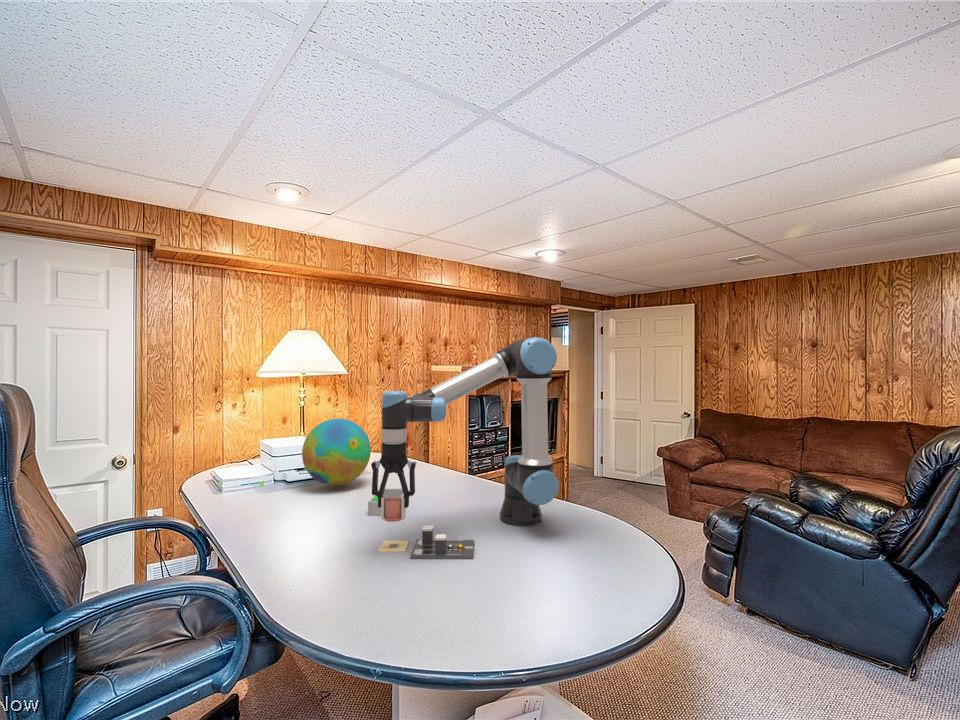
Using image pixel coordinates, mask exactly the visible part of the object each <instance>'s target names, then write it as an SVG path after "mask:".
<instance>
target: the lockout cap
mask: <svg viewBox="0 0 960 720" xmlns="http://www.w3.org/2000/svg"><path fill="white" fill-rule="evenodd" d="M401 507H402V498H401V497H388V498H386V499H385V516H384V519H383V520H384V521H385V522H390V523H395V522H396V523H397V522H400V521H402V520H401Z"/></svg>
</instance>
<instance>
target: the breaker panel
mask: <svg viewBox="0 0 960 720" xmlns="http://www.w3.org/2000/svg"><path fill="white" fill-rule="evenodd" d="M474 552H475V539H446V554H435V539H433V543H432V544H422V538H421V539H420V538H419V539H416V540H415V543H414V545H413V548H412V550H411V553H410V555H409V559H410V560H474V555H475V554H474Z"/></svg>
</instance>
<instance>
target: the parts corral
mask: <svg viewBox="0 0 960 720" xmlns="http://www.w3.org/2000/svg"><path fill="white" fill-rule="evenodd" d="M379 489H380V488H378V491H379ZM383 495H386V498H388V497H401V498H402V497H403V496H404V494H403V491H402V488H389V487H388V488H387V487H385V490H384V494H383ZM375 497H376V495H372V496H371V497H370V499H369V500H368V501H367V515H368V516H370V517H371V516H375V517H376V516H377V517H381V508H378V501H373V500H374V498H375Z"/></svg>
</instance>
